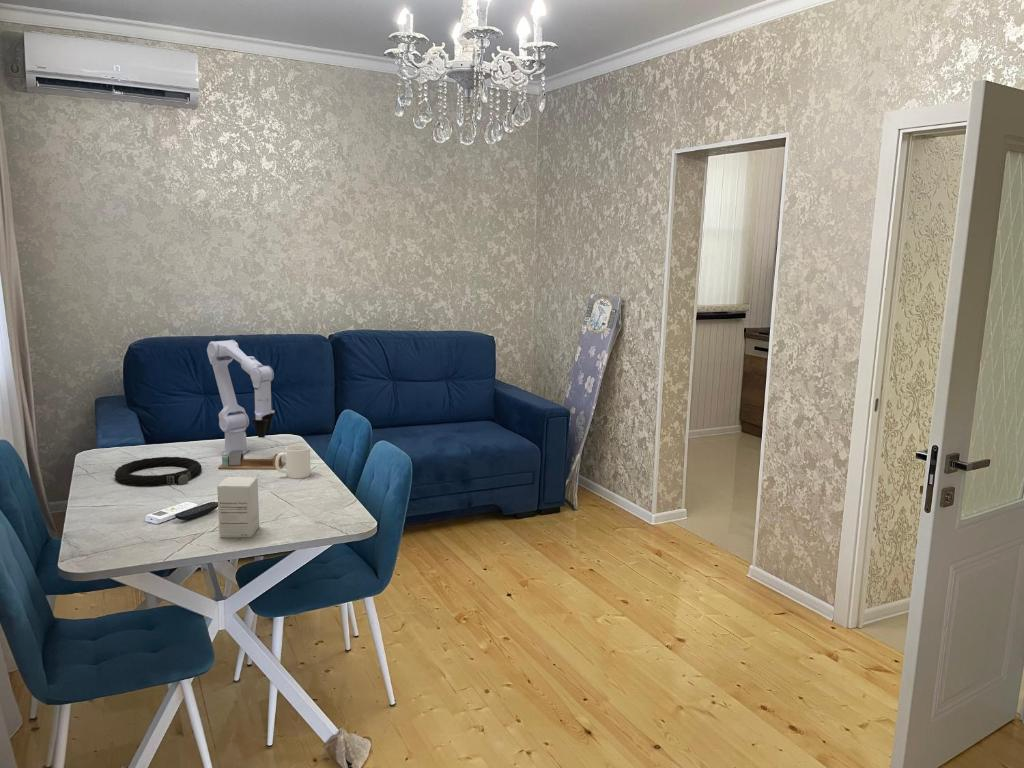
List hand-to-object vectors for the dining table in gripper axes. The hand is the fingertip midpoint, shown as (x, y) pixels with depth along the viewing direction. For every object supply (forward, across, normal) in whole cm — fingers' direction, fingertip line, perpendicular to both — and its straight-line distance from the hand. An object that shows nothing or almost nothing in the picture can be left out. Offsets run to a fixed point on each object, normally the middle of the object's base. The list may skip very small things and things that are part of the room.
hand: (263, 434), depth 280 cm
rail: (+10, -6, +3) cm, 12 cm away
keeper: (+10, -6, +9) cm, 15 cm away
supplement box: (+11, -72, -10) cm, 73 cm away
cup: (+11, -18, -14) cm, 25 cm away
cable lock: (+11, -18, +31) cm, 37 cm away
